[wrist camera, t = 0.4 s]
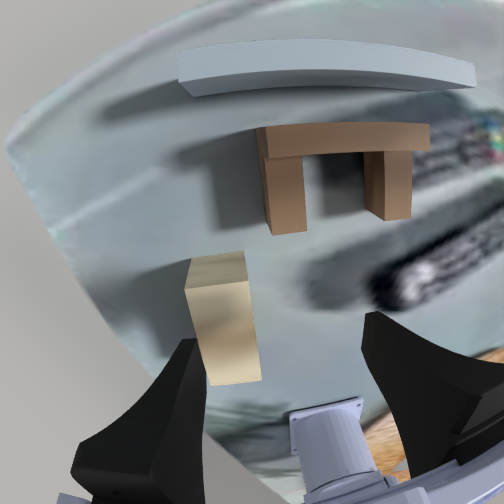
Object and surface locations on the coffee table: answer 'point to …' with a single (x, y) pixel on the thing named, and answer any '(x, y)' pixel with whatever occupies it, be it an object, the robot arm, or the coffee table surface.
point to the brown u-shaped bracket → (338, 141)
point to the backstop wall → (317, 66)
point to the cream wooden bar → (223, 318)
